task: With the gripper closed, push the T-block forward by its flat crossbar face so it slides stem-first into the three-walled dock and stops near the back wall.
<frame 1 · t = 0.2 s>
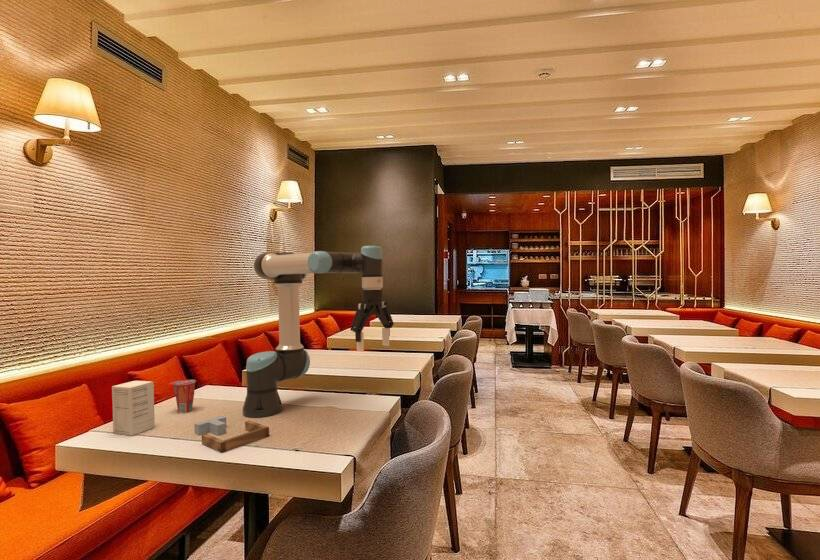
hand: (373, 348, 152), 28 cm above the table, fingers open, 13 cm apart
cup: (184, 411, 174), on the table
supplement box: (134, 430, 152), on the table
dock: (235, 439, 141), on the table
t block: (215, 431, 149), on the table
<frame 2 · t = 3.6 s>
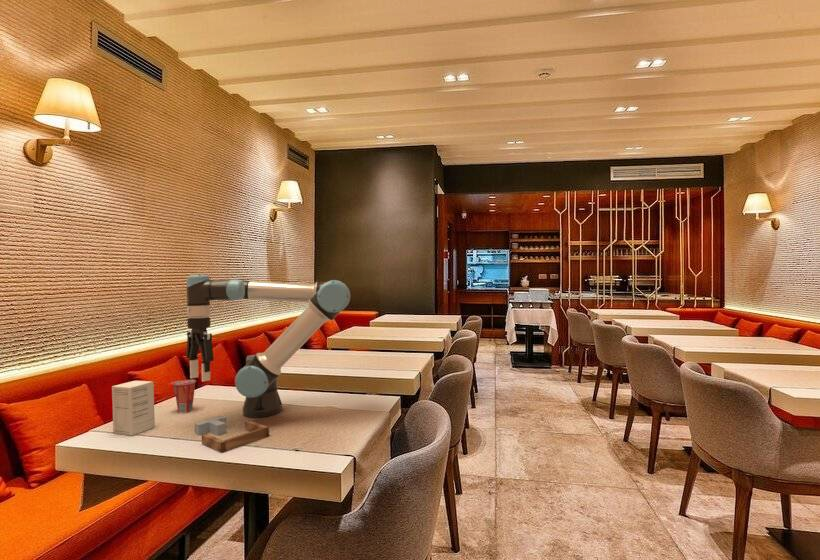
hand: (200, 379, 155), 17 cm above the table, fingers open, 8 cm apart
nothing on the table moved.
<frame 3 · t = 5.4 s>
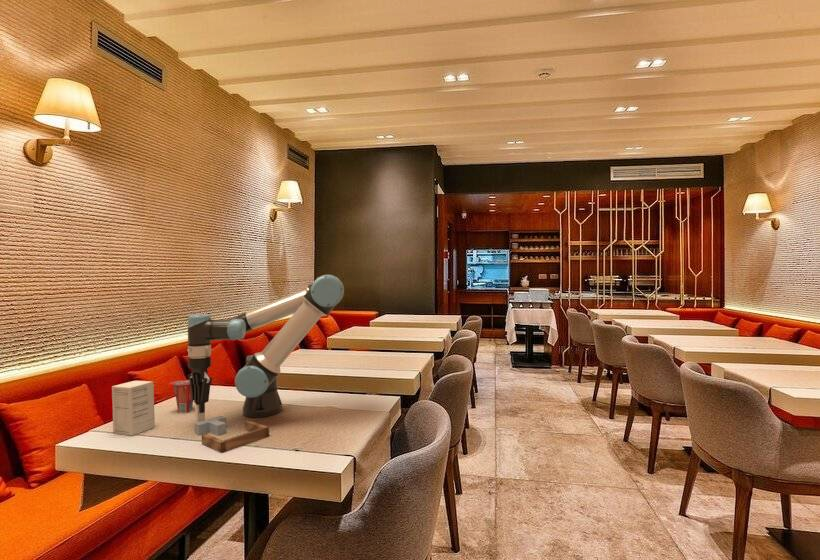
hand: (200, 421, 155), 2 cm above the table, fingers closed
nothing on the table moved.
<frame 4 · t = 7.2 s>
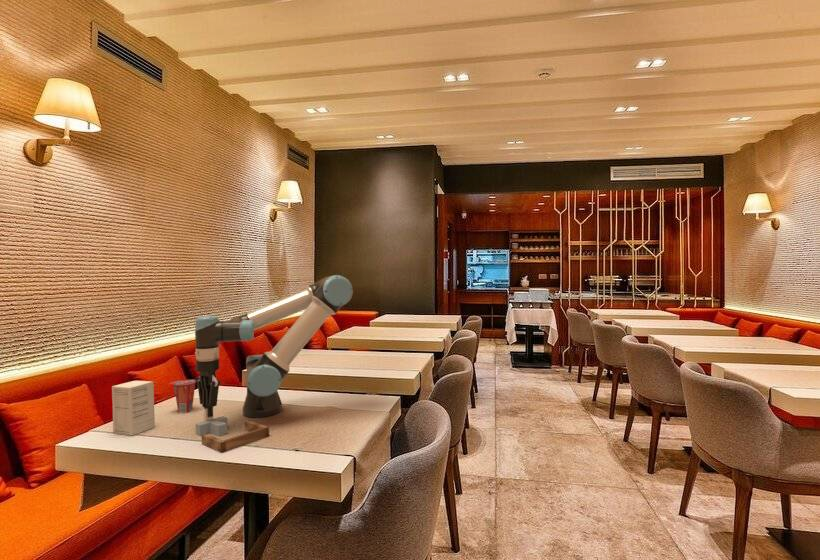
hand: (208, 425, 152), 1 cm above the table, fingers closed
t block: (216, 432, 148), on the table, touching gripper
everything else where it was.
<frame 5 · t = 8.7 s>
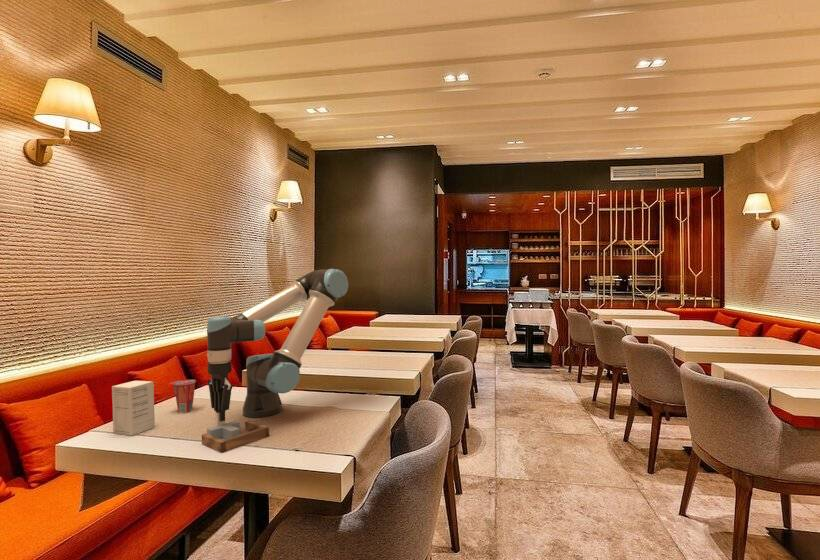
hand: (220, 429, 146), 2 cm above the table, fingers closed
t block: (228, 437, 143), on the table
everything else where it was.
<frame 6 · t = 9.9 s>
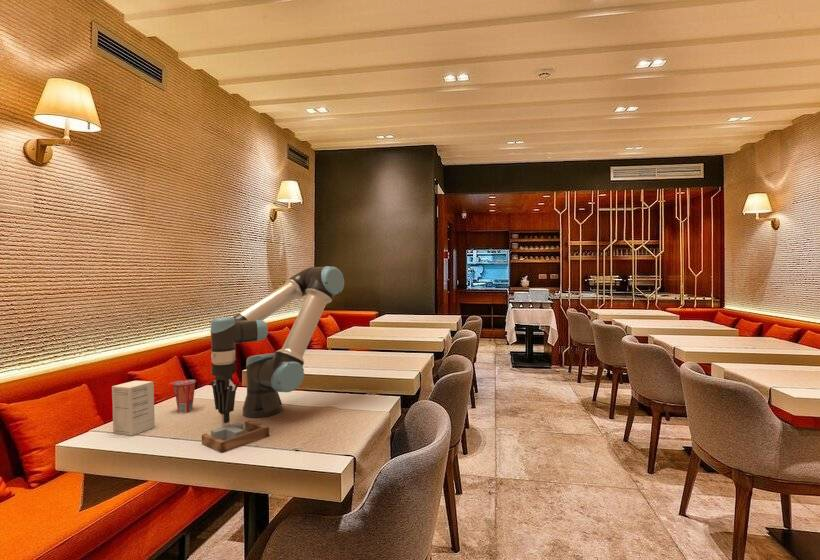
hand: (224, 431, 145), 1 cm above the table, fingers closed
t block: (232, 439, 142), on the table, touching gripper
everything else where it was.
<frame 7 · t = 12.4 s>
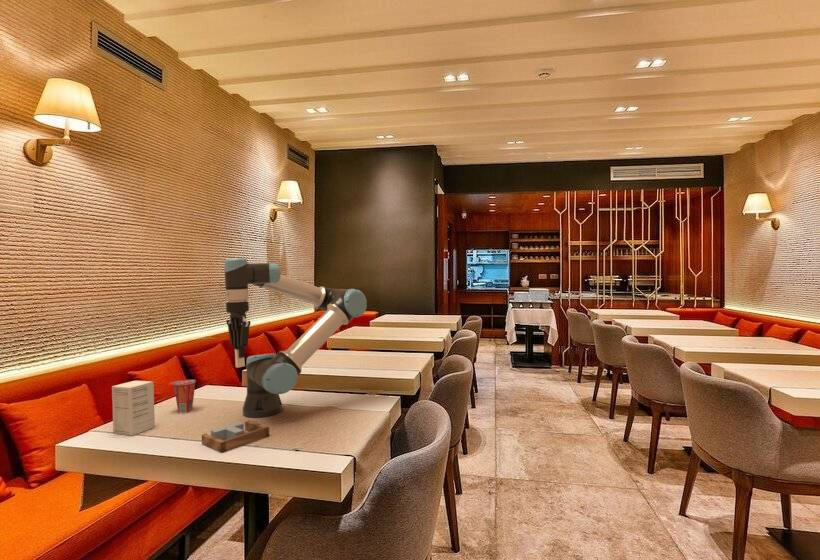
hand: (240, 366, 152), 22 cm above the table, fingers closed
t block: (232, 439, 142), on the table
everything else where it was.
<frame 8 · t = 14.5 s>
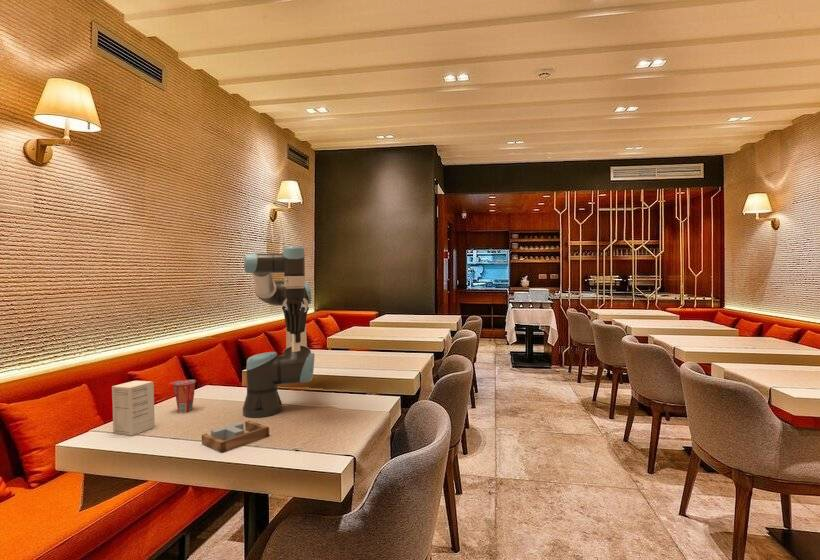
hand: (296, 351, 158), 26 cm above the table, fingers closed
nothing on the table moved.
at the end: t block inside the target area on the dock (0.3 cm from its centre), point 0.0 cm above the dock's base; t block moved 11.7 cm from its start; t block tilted 0° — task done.
